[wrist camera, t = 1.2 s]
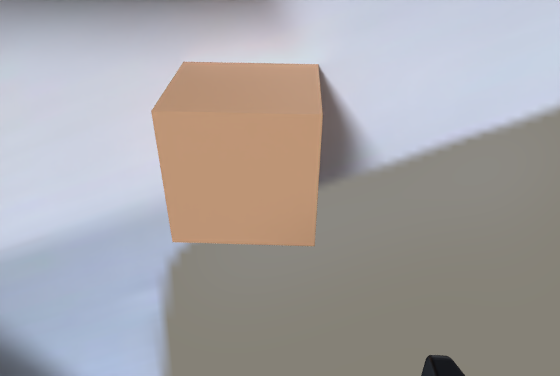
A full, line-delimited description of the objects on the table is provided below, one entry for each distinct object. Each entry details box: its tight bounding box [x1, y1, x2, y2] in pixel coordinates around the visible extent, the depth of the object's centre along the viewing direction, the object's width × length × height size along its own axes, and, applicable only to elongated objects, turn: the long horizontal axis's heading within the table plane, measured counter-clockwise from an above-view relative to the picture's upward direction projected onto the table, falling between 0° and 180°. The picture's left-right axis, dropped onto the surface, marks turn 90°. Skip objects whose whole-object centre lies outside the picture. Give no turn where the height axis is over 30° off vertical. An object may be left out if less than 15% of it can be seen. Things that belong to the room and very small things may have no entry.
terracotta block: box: [151, 62, 323, 246], centre depth 17 cm, size 5×5×4 cm
